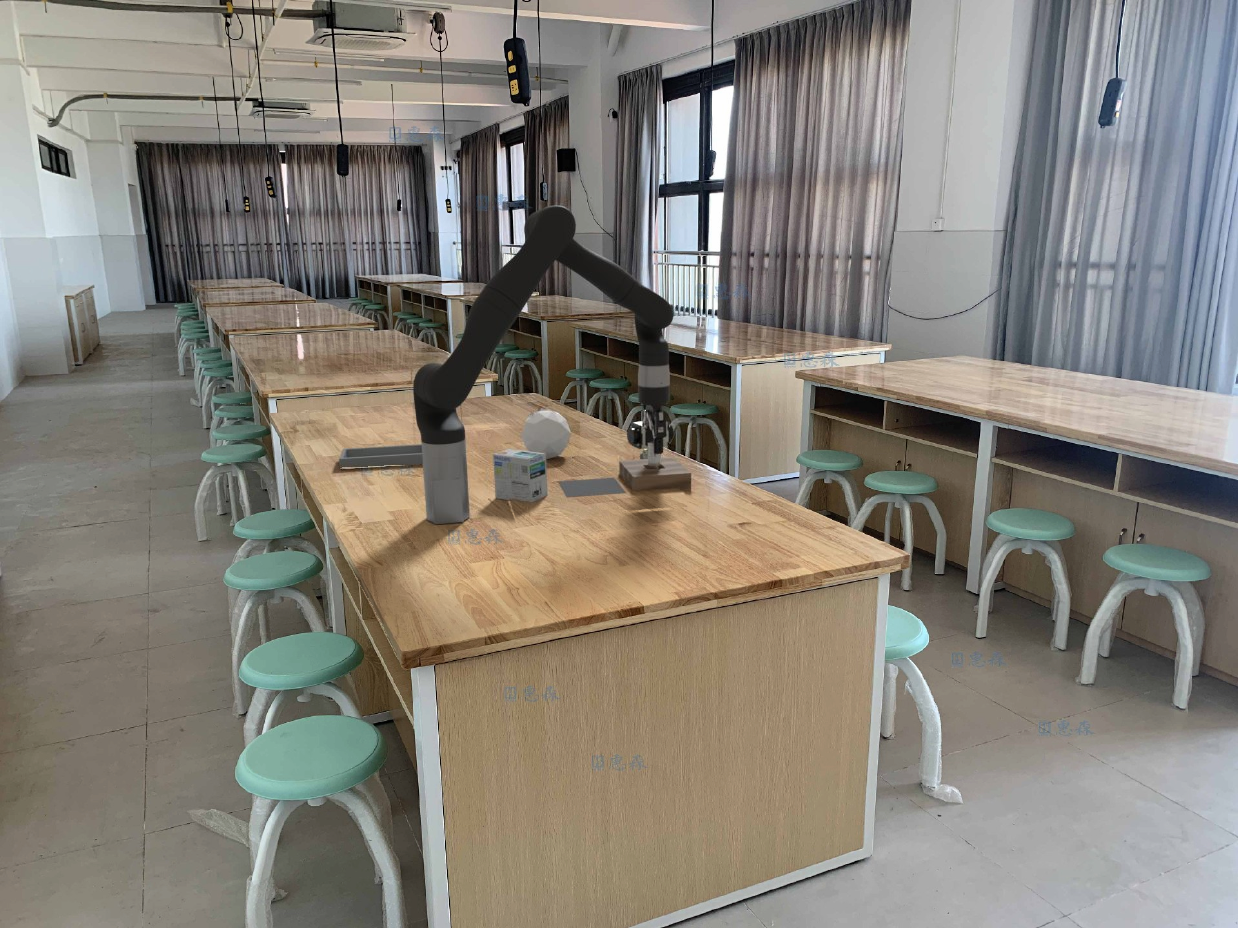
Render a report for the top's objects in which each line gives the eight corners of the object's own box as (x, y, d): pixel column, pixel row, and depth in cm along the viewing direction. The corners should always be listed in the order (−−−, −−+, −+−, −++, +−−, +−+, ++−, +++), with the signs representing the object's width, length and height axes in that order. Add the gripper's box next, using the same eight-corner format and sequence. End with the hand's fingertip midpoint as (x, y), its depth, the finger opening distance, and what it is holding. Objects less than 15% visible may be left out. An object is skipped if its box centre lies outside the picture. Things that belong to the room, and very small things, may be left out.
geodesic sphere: (528, 446, 234) (553, 401, 236) (500, 438, 244) (524, 395, 247) (564, 471, 243) (588, 427, 246) (536, 462, 254) (558, 420, 256)
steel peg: (661, 483, 219) (661, 443, 216) (649, 484, 218) (649, 444, 216) (658, 480, 222) (658, 441, 219) (646, 481, 221) (646, 441, 219)
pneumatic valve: (626, 463, 239) (626, 419, 236) (665, 458, 244) (665, 414, 241) (636, 468, 234) (635, 422, 231) (675, 462, 239) (675, 418, 236)
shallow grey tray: (429, 464, 241) (428, 453, 240) (340, 470, 236) (339, 459, 235) (429, 454, 252) (428, 443, 251) (343, 459, 247) (342, 448, 247)
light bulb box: (548, 497, 209) (547, 452, 206) (531, 505, 203) (529, 458, 201) (511, 491, 214) (509, 447, 212) (494, 498, 209) (491, 453, 206)
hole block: (691, 489, 214) (691, 472, 213) (633, 493, 211) (633, 476, 210) (673, 472, 229) (673, 457, 228) (619, 476, 226) (619, 460, 225)
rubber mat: (626, 495, 210) (626, 492, 210) (566, 499, 207) (566, 497, 207) (614, 479, 223) (614, 477, 223) (558, 483, 220) (557, 481, 220)
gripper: (677, 387, 208) (676, 455, 212) (661, 378, 222) (661, 442, 225) (645, 388, 207) (645, 457, 210) (631, 379, 220) (632, 444, 224)
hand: (653, 449), depth 218 cm, fingers open, 8 cm apart
